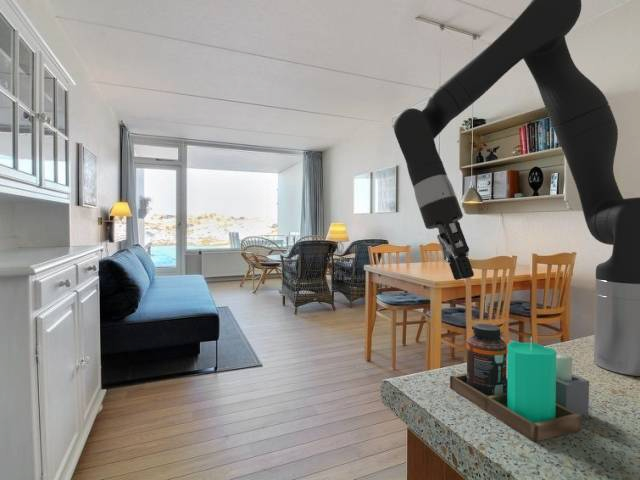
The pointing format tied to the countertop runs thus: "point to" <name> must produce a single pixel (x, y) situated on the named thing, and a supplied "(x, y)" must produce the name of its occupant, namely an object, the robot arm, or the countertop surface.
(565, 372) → the pale green rounded peg
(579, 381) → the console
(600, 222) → the robot arm
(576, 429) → the wooden tray
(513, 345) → the candle
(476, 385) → the supplement bottle
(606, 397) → the countertop surface
